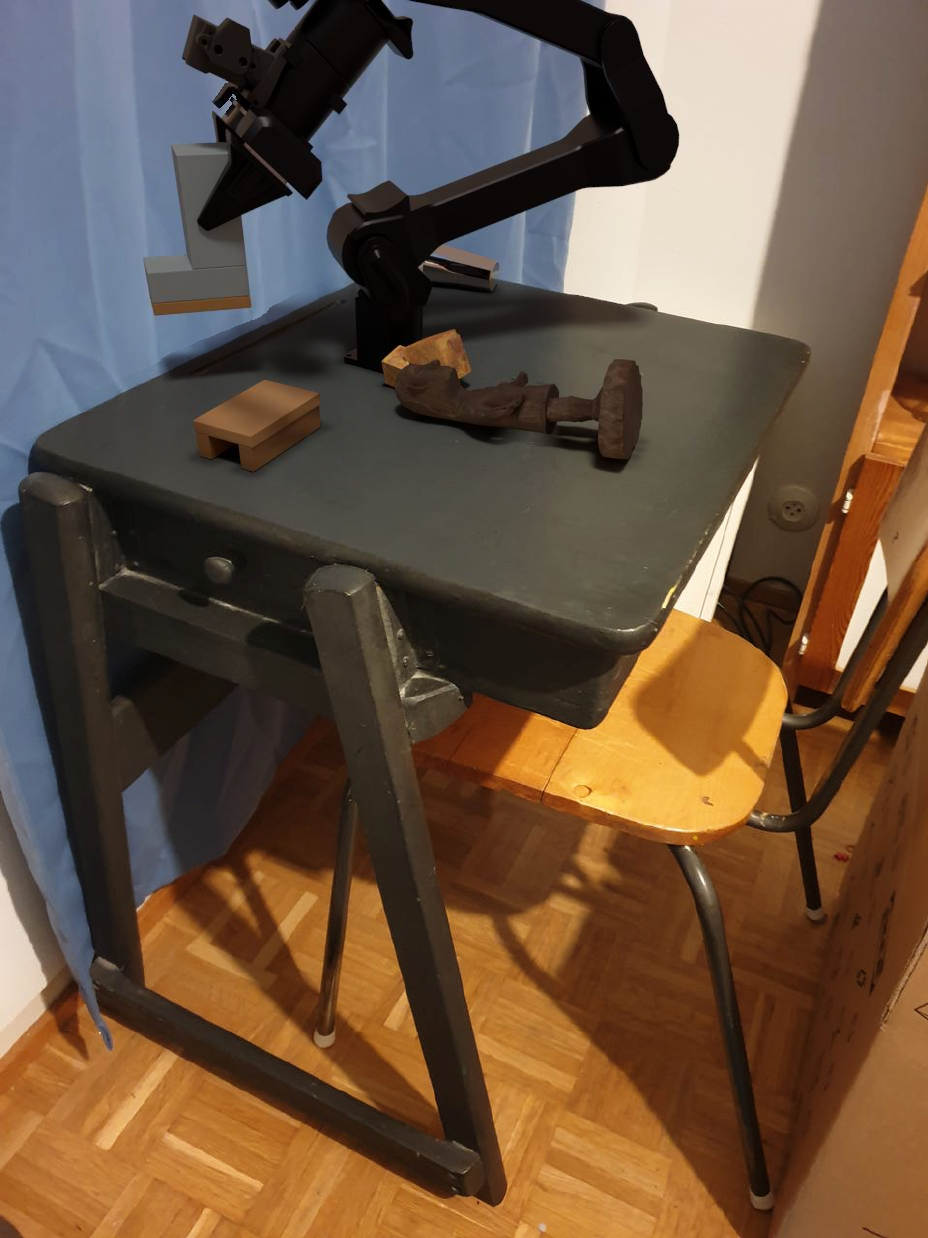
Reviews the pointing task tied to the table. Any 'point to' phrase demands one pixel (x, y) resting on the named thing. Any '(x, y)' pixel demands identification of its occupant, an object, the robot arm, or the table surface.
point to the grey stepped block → (200, 244)
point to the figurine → (530, 403)
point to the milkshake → (460, 269)
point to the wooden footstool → (259, 423)
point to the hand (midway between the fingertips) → (198, 219)
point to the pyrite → (428, 355)
